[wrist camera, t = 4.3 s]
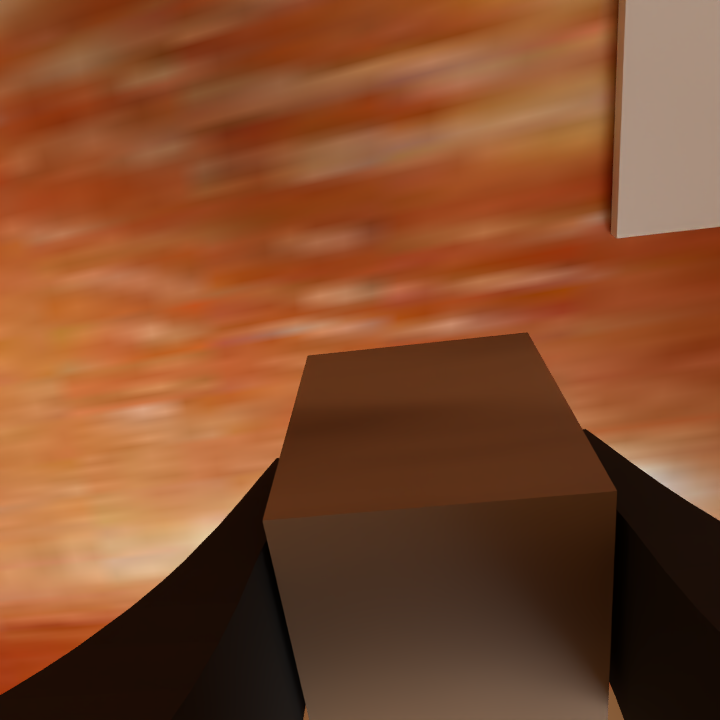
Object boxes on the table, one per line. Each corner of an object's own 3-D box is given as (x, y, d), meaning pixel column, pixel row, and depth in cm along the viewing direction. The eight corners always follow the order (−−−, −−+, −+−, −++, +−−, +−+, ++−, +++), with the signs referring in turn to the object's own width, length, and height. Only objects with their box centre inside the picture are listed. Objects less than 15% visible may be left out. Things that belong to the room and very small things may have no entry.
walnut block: (531, 513, 14) (607, 734, 9) (338, 529, 14) (316, 749, 9) (527, 332, 12) (616, 491, 7) (307, 355, 12) (262, 520, 8)
